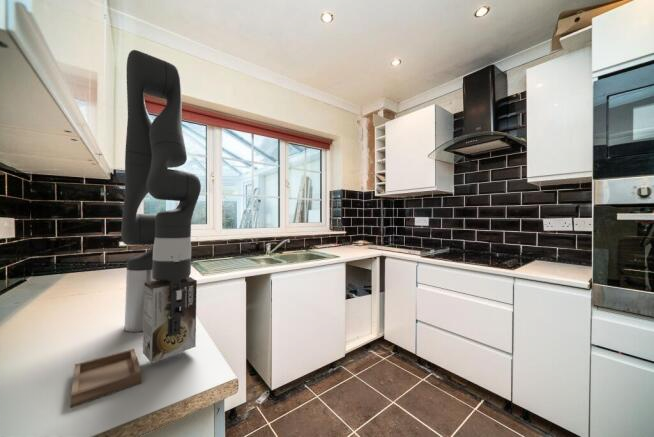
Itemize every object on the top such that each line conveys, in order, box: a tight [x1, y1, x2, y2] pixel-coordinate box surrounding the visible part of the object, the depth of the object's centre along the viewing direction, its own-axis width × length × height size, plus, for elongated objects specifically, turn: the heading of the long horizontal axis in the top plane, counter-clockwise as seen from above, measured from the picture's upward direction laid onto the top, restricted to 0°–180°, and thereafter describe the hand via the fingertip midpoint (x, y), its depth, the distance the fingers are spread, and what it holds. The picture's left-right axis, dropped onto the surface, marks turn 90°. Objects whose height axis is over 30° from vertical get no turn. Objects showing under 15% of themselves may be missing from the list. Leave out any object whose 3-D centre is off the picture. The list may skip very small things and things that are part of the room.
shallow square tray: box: [70, 348, 142, 408], centre depth 49 cm, size 12×10×2 cm
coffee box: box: [142, 276, 198, 364], centre depth 57 cm, size 9×6×16 cm
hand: (170, 328), depth 57 cm, fingers closed on coffee box, 7 cm apart
